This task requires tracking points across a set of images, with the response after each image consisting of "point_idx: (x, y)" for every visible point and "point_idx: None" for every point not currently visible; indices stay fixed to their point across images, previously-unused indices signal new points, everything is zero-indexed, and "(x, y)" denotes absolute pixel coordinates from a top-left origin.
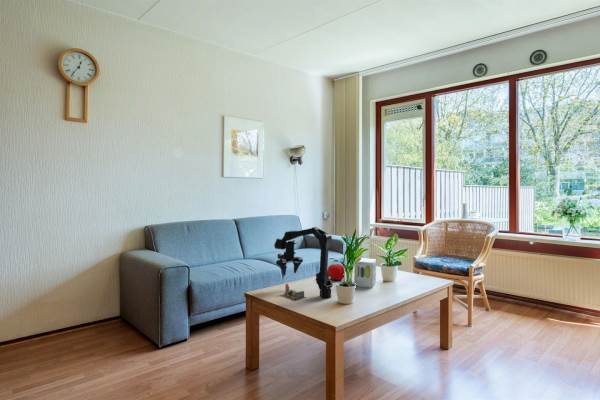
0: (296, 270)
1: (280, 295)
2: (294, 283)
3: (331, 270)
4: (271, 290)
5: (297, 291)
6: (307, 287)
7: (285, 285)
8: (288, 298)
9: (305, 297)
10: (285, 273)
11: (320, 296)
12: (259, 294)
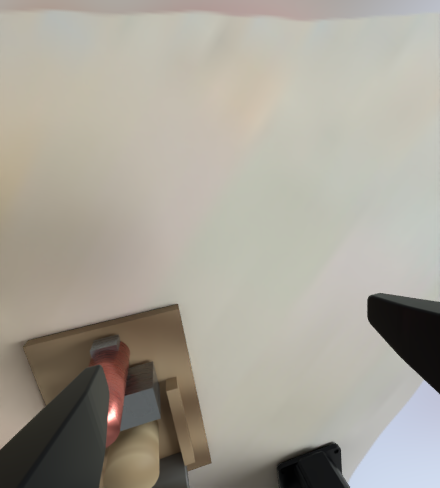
0: (429, 371)
1: (33, 358)
2: (386, 49)
3: None
4: (44, 122)
5: (153, 482)
6: (382, 228)
7: None
8: None
9: (200, 461)
10: (100, 456)
11: (295, 471)
12: None
